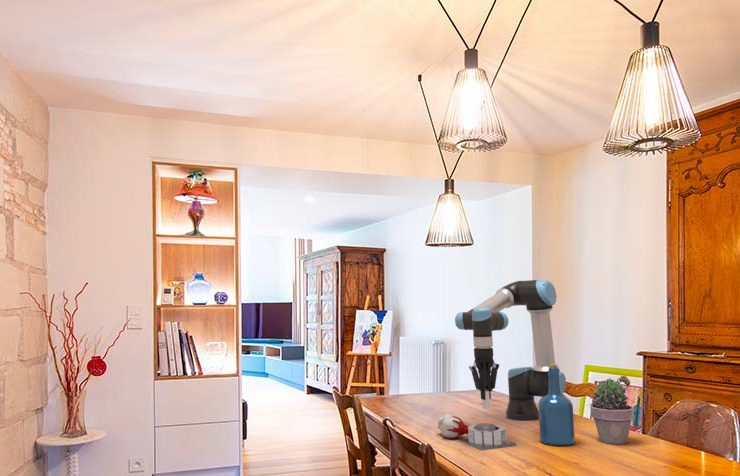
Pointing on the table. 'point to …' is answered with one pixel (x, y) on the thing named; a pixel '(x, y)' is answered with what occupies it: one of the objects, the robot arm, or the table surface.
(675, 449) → the table surface
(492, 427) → the cap
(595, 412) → the potted plant
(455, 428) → the candle
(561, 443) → the wine bottle
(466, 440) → the square flange collar
